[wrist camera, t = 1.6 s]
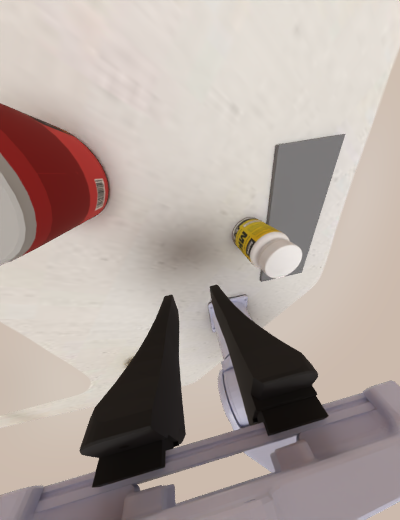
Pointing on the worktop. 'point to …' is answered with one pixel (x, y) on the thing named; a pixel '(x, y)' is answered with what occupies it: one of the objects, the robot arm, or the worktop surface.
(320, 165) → the mat
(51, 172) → the canned food
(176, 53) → the worktop surface
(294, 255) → the supplement bottle
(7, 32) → the worktop surface
